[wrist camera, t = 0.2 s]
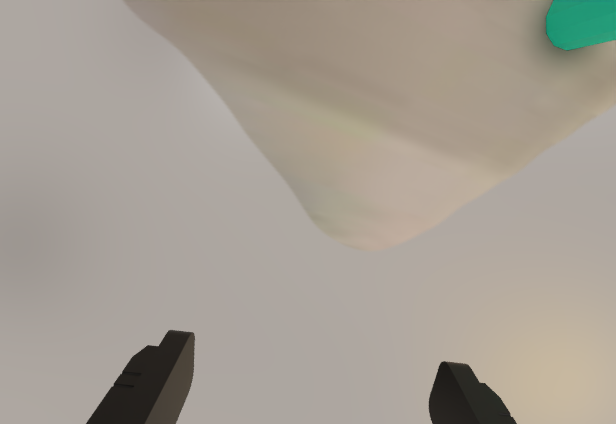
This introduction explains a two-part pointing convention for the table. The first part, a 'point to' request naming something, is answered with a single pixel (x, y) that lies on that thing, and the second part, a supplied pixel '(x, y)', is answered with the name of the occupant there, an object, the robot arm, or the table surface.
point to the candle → (581, 23)
